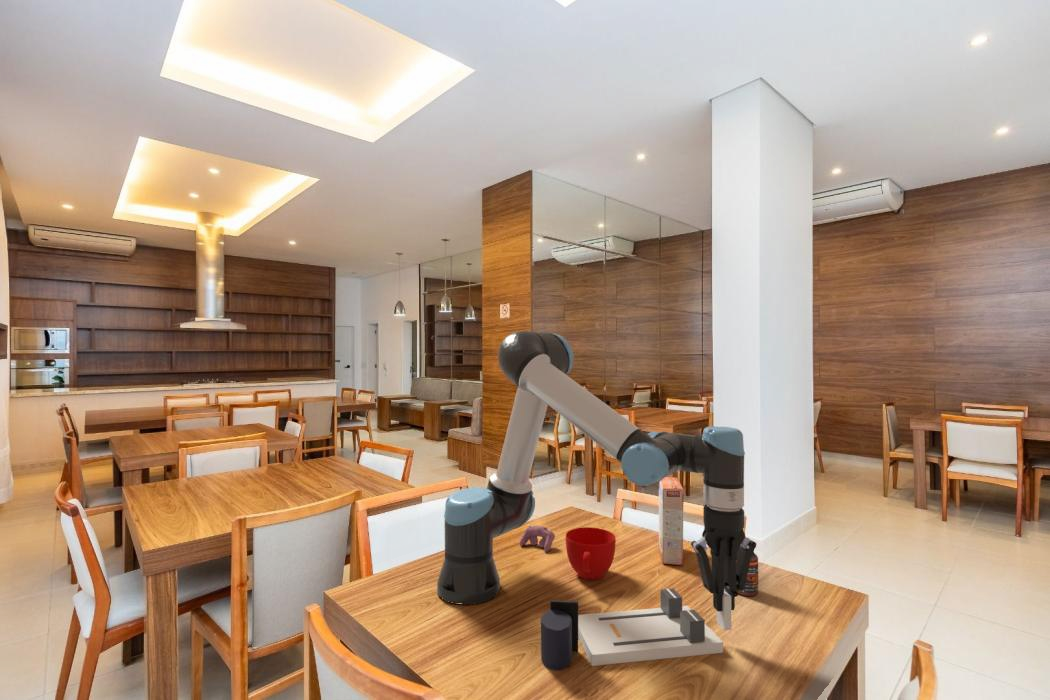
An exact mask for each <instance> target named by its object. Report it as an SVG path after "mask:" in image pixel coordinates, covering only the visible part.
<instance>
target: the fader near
mask: <svg viewBox="0 0 1050 700" xmlns="http://www.w3.org/2000/svg"><path fill="white" fill-rule="evenodd" d="M705 621H706V620H705V619H704V617H702V616H701V615H700V614H699V613H698V612H697V610H695V609H691V610H683V611H680V631H681V633H682V634H683V635H684V636H685V637H686V638H687V640H688V641H689V642H690V643H692V642H702V641H705V624H706V622H705Z"/></svg>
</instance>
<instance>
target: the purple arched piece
mask: <svg viewBox="0 0 1050 700" xmlns="http://www.w3.org/2000/svg"><path fill="white" fill-rule="evenodd" d="M538 537H541V539H540V540H539V539H538ZM555 538H556V536H555V533H554V532H553V531H552V530H550V529H549V528H547V527H545V526H541V525H529V526H528V527H527V528H526V529H525V530H524V532H523V534H522V536H521V538H520V540H519V546H520V547H521V546H522V547H524V546H526V544H527V543H528V541H529V543H530V544H531V545H532V546H537V545H538V544H539V547H540V548H543V547H544V548H543V551H544V552H545V553H548V552H549V551H550V549H551V548H552V546H553V543H554V541H555ZM523 545H524V546H523Z"/></svg>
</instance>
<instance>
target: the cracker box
mask: <svg viewBox="0 0 1050 700" xmlns="http://www.w3.org/2000/svg"><path fill="white" fill-rule="evenodd" d="M684 490H685V489H683V486H682V484H681V482H680V480H679V478H678V477H671V476H666V477H665V478H663V479H662V480H661V481H660V482H658V550H659V554H660V558H661V559H660V560H661V564H662V565H673V566H684V492H685V491H684Z"/></svg>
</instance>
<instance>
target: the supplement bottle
mask: <svg viewBox="0 0 1050 700" xmlns="http://www.w3.org/2000/svg"><path fill="white" fill-rule="evenodd" d="M739 548H740V547H739ZM738 551H739V549H738V550H737V556H738ZM737 593H738V595H740V596H744V597H745V596H746V597H754V596H756V595H757V594H758V593H759V557H758V555H757V554H756V553H755V550H754V551H753V553H752V555H751V560H750V565H749V569H748V574H747V579H746V584H745V588H744V590H743V591H740V590H739V591H737Z"/></svg>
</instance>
